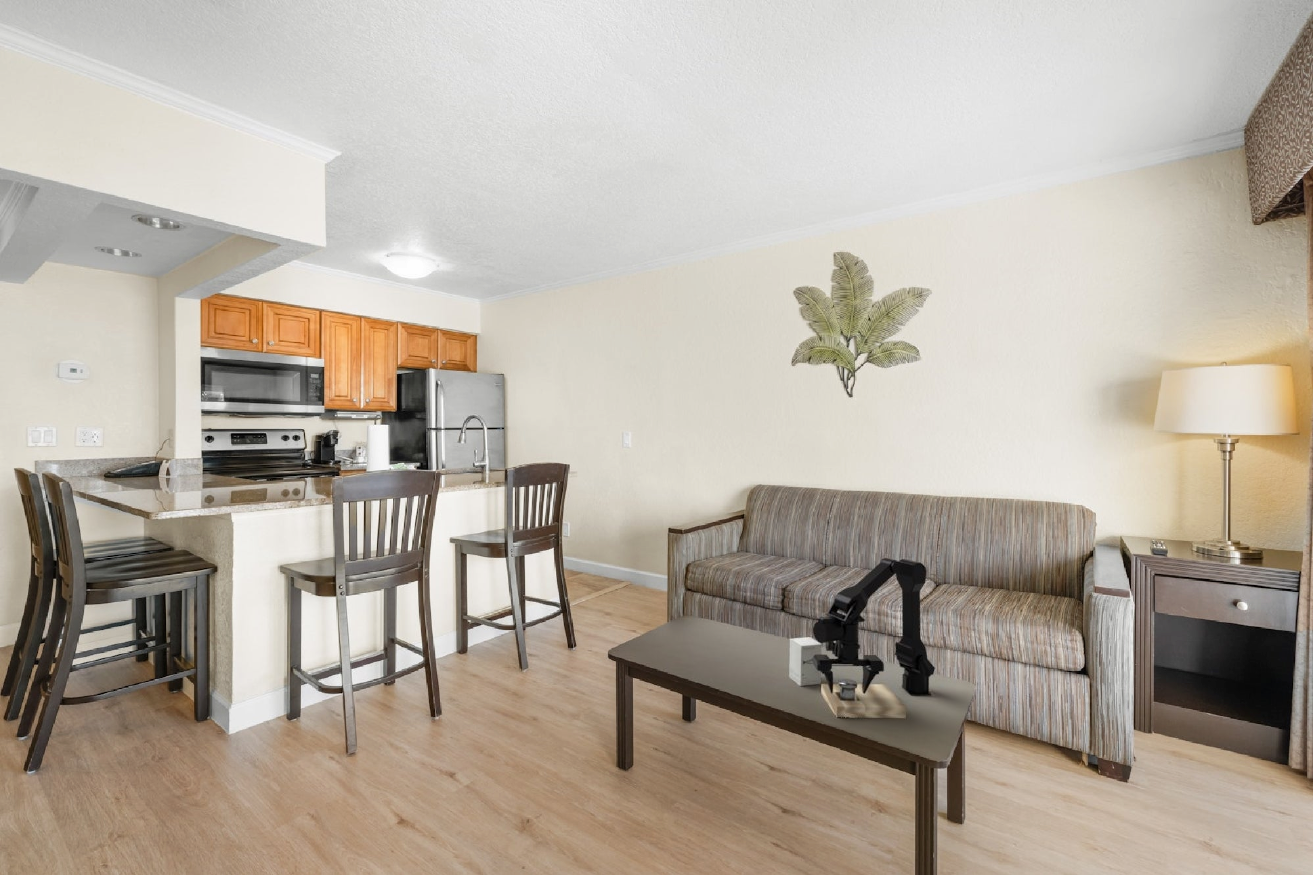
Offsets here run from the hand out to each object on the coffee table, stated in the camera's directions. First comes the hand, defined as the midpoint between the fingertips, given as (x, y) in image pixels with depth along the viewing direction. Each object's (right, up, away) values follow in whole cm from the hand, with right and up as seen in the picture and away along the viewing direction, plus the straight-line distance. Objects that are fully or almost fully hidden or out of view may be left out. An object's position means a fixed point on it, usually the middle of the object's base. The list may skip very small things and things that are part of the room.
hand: (847, 692), depth 169 cm
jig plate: (+4, -4, +1) cm, 6 cm away
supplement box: (-8, -4, +18) cm, 20 cm away
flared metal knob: (0, -4, 0) cm, 4 cm away
